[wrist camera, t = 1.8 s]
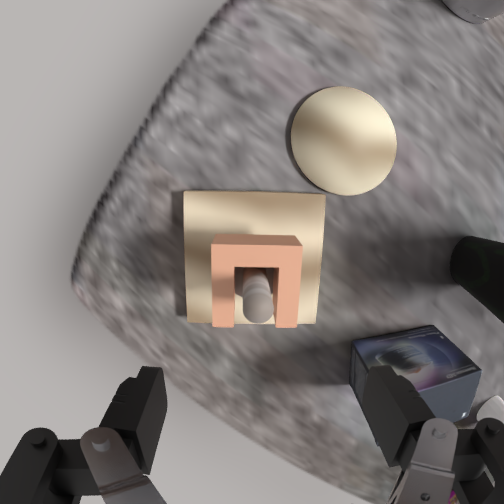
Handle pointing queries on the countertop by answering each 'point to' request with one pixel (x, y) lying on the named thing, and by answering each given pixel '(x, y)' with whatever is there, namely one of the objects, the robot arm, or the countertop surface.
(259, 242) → the c link
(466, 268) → the cup
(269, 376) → the countertop surface
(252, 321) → the peg stand
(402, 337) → the small box
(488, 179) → the countertop surface
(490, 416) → the capsule
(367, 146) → the coaster
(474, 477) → the robot arm
